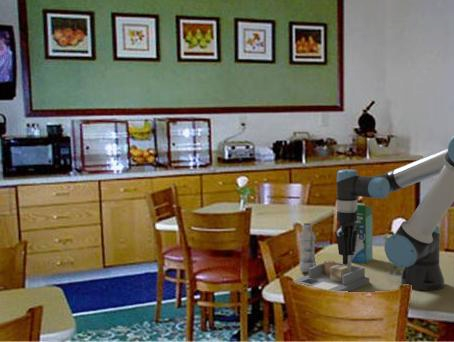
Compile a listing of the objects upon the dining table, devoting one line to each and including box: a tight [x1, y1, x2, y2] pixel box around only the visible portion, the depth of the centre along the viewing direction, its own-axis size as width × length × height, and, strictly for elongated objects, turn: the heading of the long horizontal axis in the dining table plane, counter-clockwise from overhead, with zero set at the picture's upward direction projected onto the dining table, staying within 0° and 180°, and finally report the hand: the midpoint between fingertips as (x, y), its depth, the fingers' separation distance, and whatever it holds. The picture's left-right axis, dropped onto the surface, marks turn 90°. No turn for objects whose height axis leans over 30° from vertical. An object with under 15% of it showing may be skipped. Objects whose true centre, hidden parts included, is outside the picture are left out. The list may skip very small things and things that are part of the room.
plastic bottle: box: [298, 222, 317, 274], centre depth 234 cm, size 6×7×20 cm
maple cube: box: [330, 265, 349, 283], centre depth 217 cm, size 5×5×5 cm
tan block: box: [324, 260, 336, 276], centre depth 225 cm, size 4×4×5 cm
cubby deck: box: [293, 261, 370, 292], centre depth 218 cm, size 20×22×6 cm
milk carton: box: [351, 202, 373, 264], centre depth 251 cm, size 9×9×25 cm
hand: (347, 271), depth 221 cm, fingers closed
